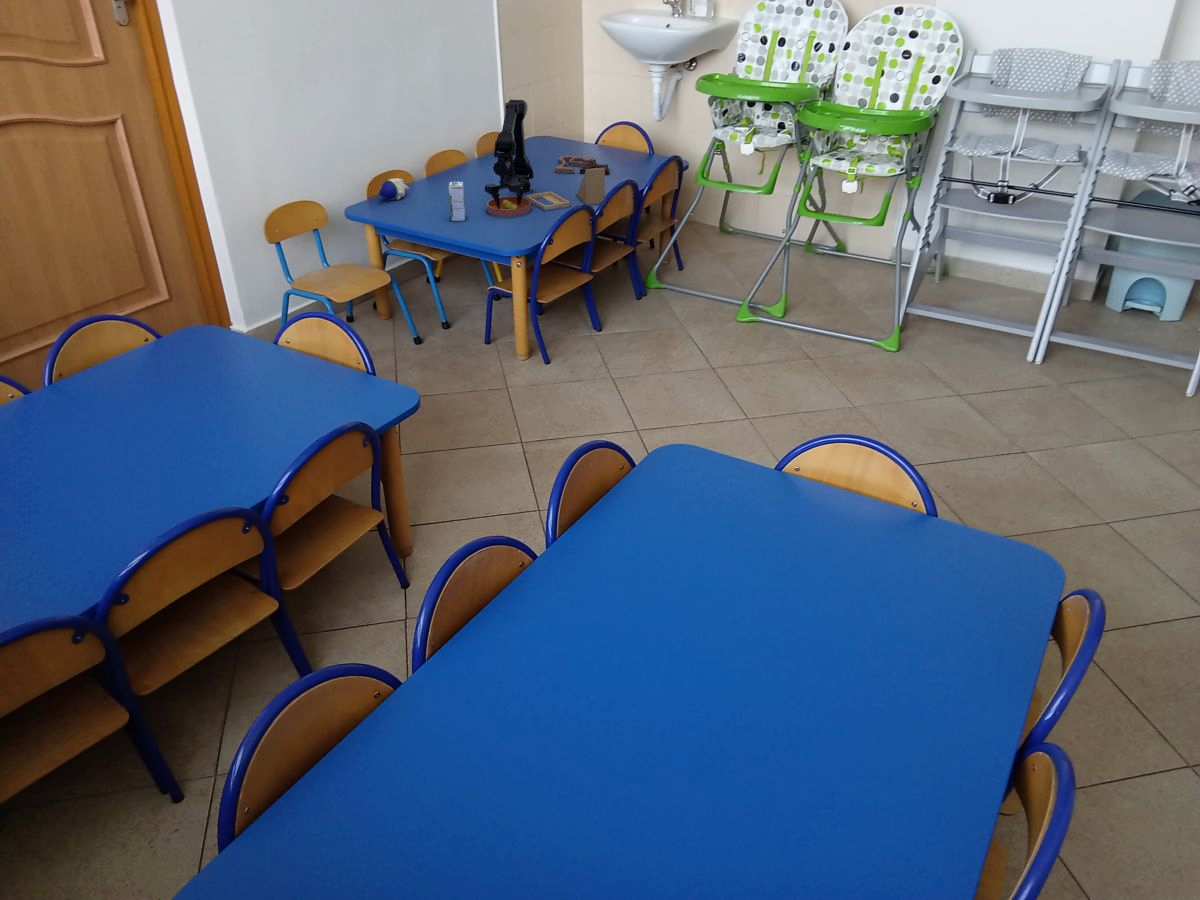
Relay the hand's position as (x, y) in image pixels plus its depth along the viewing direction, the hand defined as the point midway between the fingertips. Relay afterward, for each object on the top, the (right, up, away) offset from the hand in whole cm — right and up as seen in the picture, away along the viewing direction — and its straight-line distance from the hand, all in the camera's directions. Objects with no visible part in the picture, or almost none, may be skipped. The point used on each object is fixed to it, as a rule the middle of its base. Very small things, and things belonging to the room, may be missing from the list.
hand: (508, 206), depth 375 cm
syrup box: (-20, -7, -8) cm, 23 cm away
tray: (+16, +4, +9) cm, 19 cm away
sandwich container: (+34, +7, +14) cm, 38 cm away
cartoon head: (-52, +7, +15) cm, 54 cm away
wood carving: (+31, +34, +57) cm, 73 cm away
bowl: (0, -1, +1) cm, 2 cm away
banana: (0, -1, +1) cm, 1 cm away
